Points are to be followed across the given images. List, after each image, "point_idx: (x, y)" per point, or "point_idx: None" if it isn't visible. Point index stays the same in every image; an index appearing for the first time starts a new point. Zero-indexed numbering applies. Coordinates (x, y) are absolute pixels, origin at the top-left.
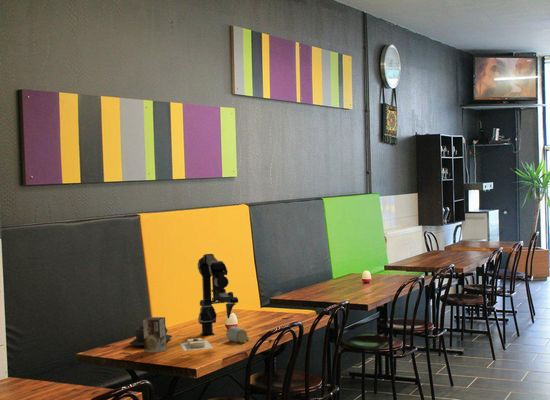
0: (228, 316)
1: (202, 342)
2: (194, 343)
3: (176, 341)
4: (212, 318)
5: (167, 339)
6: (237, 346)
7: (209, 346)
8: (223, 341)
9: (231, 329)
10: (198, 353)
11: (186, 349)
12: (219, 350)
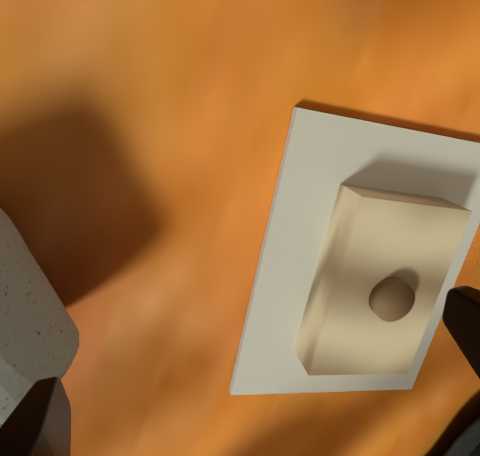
0: (51, 408)
1: (380, 199)
2: (441, 206)
3: (387, 451)
4: (474, 302)
5: (467, 440)
6: (29, 78)
7: (297, 189)
8: (106, 349)
9: (11, 361)
10: (461, 16)
11: (477, 182)
12: (266, 10)
